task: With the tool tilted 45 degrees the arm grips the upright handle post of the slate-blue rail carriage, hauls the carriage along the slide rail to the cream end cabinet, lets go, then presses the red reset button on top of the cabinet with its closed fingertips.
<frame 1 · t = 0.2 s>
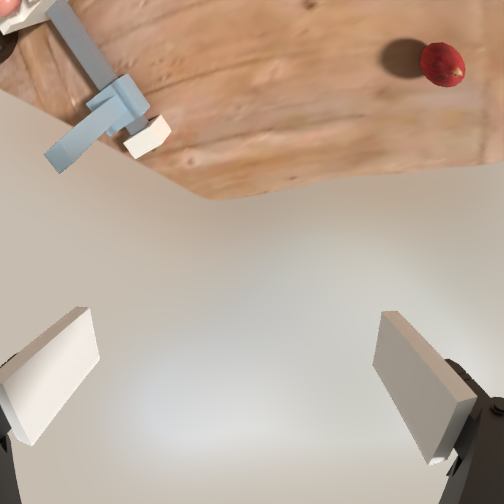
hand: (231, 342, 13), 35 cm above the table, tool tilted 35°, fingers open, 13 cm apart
onion: (430, 58, 31), on the table
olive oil: (1, 36, 29), on the table
carriage: (96, 123, 32), point 10 cm above the table, slide at 0.0 cm
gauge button: (5, 3, 18), point 11 cm above the table, slide at 0.0 cm
slide rail: (104, 59, 35), on the table
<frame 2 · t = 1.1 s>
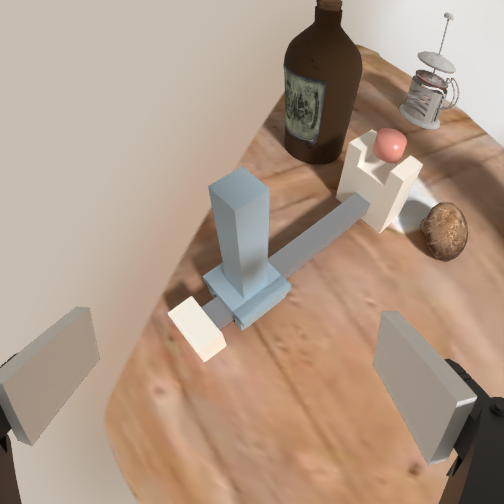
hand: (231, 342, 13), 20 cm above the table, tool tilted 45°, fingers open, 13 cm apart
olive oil: (312, 146, 50), on the table
carriage: (244, 255, 27), point 10 cm above the table, slide at 0.0 cm
french press: (422, 118, 56), on the table
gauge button: (389, 145, 33), point 11 cm above the table, slide at 0.0 cm
mushroom: (437, 244, 39), on the table
slide rail: (294, 266, 38), on the table
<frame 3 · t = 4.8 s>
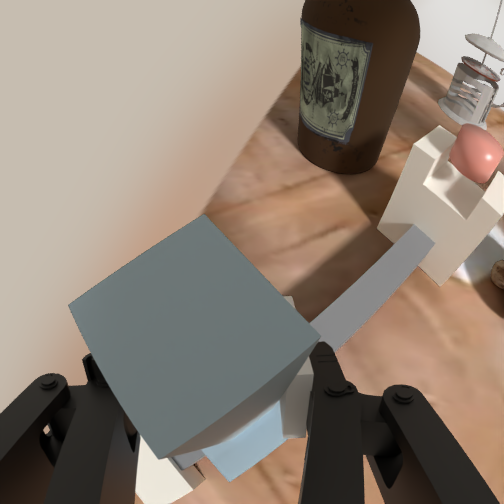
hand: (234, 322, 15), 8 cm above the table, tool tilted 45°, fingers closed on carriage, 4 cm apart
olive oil: (337, 148, 34), on the table
carriage: (228, 394, 11), point 10 cm above the table, slide at 0.0 cm, touching gripper
french press: (466, 117, 40), on the table
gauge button: (476, 152, 17), point 11 cm above the table, slide at 0.0 cm
slide rail: (316, 348, 22), on the table
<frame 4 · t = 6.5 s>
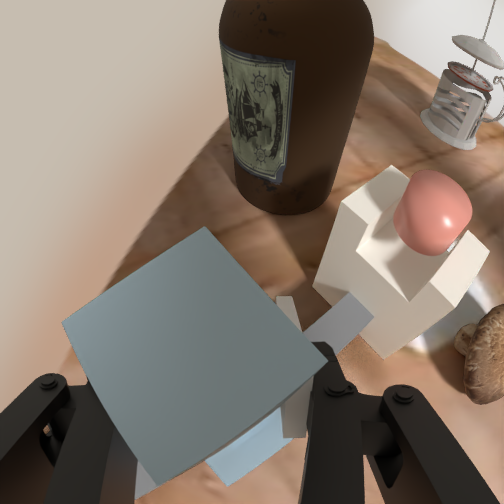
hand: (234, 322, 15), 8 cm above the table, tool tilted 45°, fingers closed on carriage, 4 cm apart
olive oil: (283, 180, 31), on the table
carriage: (227, 401, 11), point 10 cm above the table, slide at 8.7 cm, touching gripper
french press: (452, 132, 37), on the table
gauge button: (432, 212, 14), point 11 cm above the table, slide at 0.0 cm
mushroom: (475, 365, 21), on the table
slide rail: (219, 428, 19), on the table
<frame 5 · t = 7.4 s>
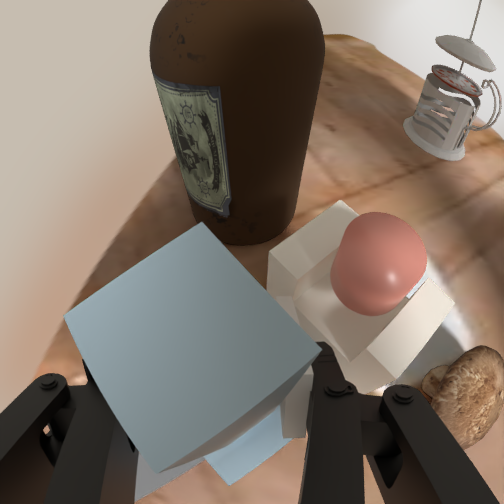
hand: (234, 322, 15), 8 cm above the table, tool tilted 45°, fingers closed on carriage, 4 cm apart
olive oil: (243, 205, 29), on the table
carriage: (227, 399, 11), point 10 cm above the table, slide at 13.5 cm, touching gripper
french press: (439, 141, 36), on the table
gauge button: (377, 264, 13), point 11 cm above the table, slide at 0.0 cm
mushroom: (446, 407, 19), on the table
slide rail: (165, 465, 17), on the table
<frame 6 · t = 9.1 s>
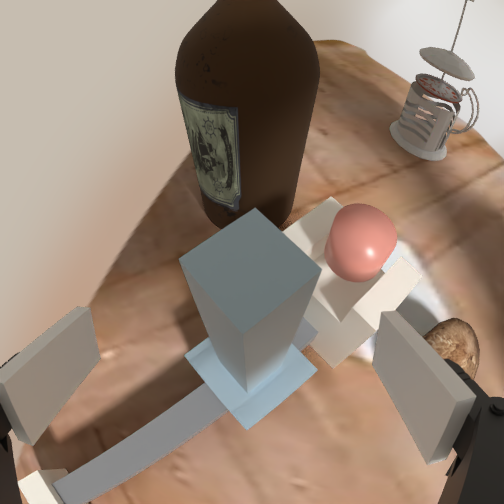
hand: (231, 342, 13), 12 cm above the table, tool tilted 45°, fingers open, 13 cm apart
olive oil: (247, 201, 34), on the table
carriage: (250, 345, 16), point 10 cm above the table, slide at 13.6 cm
french press: (422, 143, 41), on the table
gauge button: (359, 243, 17), point 11 cm above the table, slide at -0.2 cm
mushroom: (427, 374, 24), on the table
slide rail: (185, 426, 22), on the table
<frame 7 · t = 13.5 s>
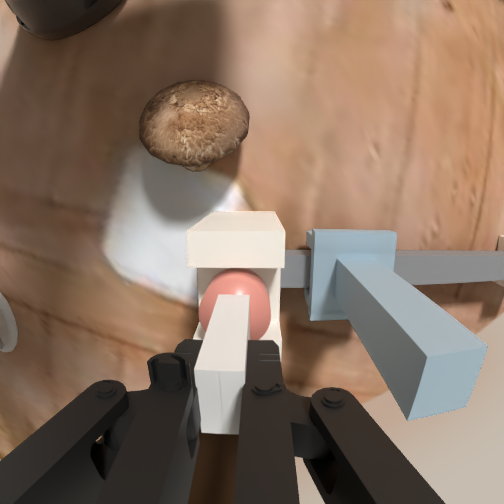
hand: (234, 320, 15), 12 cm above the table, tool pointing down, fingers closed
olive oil: (210, 392, 30), on the table
carriage: (377, 302, 17), point 10 cm above the table, slide at 13.6 cm
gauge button: (236, 306, 17), point 10 cm above the table, slide at 1.2 cm, touching gripper
mushroom: (200, 127, 25), on the table
slide rail: (405, 259, 26), on the table
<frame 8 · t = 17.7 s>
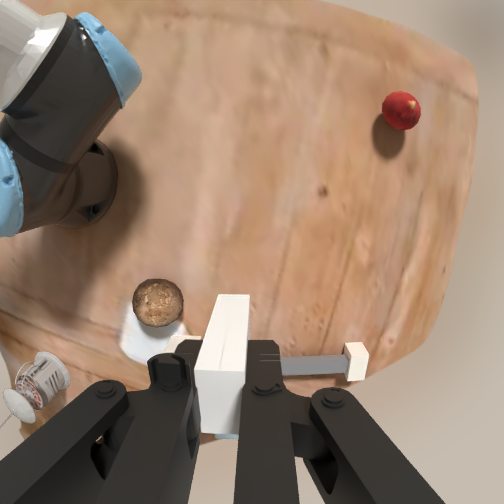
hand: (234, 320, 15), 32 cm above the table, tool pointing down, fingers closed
onion: (391, 115, 43), on the table
carriage: (230, 392, 42), point 10 cm above the table, slide at 13.6 cm
french press: (51, 367, 54), on the table
mushroom: (162, 295, 50), on the table
slide rail: (274, 357, 52), on the table
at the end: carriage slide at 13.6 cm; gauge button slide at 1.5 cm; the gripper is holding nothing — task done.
